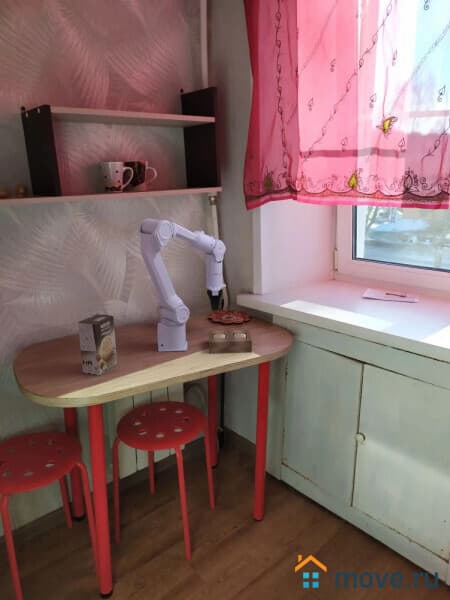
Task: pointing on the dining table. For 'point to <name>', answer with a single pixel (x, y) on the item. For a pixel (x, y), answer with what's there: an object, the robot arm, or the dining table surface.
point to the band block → (230, 342)
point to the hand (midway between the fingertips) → (215, 309)
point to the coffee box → (97, 344)
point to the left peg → (218, 336)
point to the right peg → (239, 335)
